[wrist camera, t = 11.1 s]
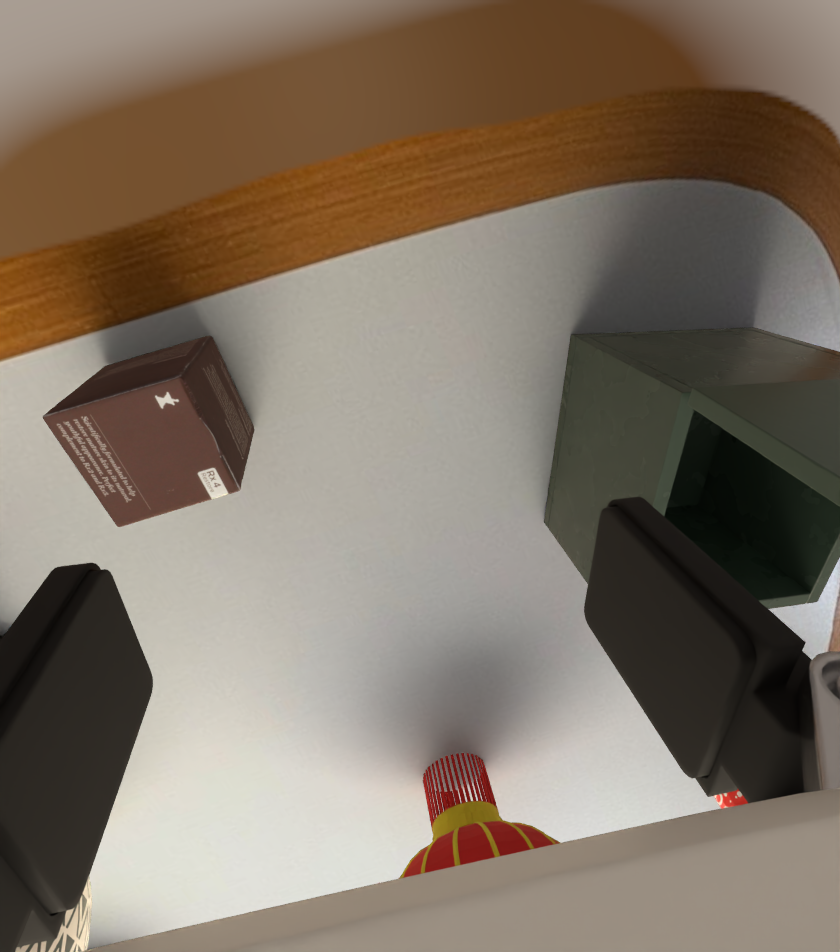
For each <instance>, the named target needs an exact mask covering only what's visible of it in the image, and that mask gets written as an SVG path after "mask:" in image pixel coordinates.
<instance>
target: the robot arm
mask: <svg viewBox="0 0 840 952" xmlns="http://www.w3.org/2000/svg"><path fill="white" fill-rule="evenodd" d="M584 613H585V618H586V621H587V623H588V625H589V627H590V629H591V630H592V632H593V633H594V635H595V636H596V638H597V639H598V641H599V642H600V644H601V646H602V647H603V649H604V650H605V652H606V653H607V655H608V656H609V658H610V659H611V661H612V663H613V664H614V666H615V667H616V669H617V670H618V672H619V673H620V675H621V676H622V678H623V680H624V681H625V683H626V684H627V686H628V687H629V689H630V690H631V692H632V693H633V695H634V697H635V698H636V700H637V701H638V703H639V704H640V706H641V707H642V709H643V710H644V712H645V713H646V715H647V717H648V718H649V720H650V721H651V723H652V724H653V726H654V727H655V729H656V730H657V732H658V734H659V735H660V737H661V738H662V740H663V741H664V743H665V744H666V746H667V747H668V749H669V751H670V752H671V754H672V755H673V757H674V758H675V760H676V761H677V763H678V764H679V766H680V768H681V769H682V770H683V772H684V773H685V774H686V775H687V776H688V777H691V778H696V780H697V781H698V783H699V784H700V786H701V787H702V789H703V790H704V792H705V793H706V795H707V796H708V797H710V796H714V795H719V794H724V793H728V792H733V791H737V789H738V790H739V791H740V792H741V794H742V795H743V796H744V798H745V799H746V801H747V802H748V804H743V805H738V806H733V807H728V808H722V809H717V810H712V811H707V812H702V813H697V814H693V815H688V816H684V817H679V818H674V819H670V820H665V821H660V822H656V823H651V824H647V825H642V826H637V827H633V828H628V829H623V830H619V831H614V832H610V833H605V834H600V835H596V836H591V837H586V838H582V839H577V840H573V841H568V842H563V843H559V844H554V845H549V846H545V847H540V848H536V849H531V850H527V851H522V852H518V853H513V854H509V855H504V856H500V857H495V858H490V859H486V860H481V861H477V862H472V863H468V864H463V865H459V866H454V867H450V868H445V869H441V870H436V871H432V872H427V873H423V874H418V875H414V876H409V877H405V878H400V879H396V880H391V881H387V882H382V883H378V884H373V885H369V886H364V887H360V888H355V889H351V890H346V891H342V892H338V893H333V894H329V895H324V896H320V897H315V898H311V899H306V900H302V901H298V902H293V903H289V904H285V905H280V906H276V907H271V908H267V909H263V910H258V911H254V912H249V913H245V914H241V915H236V916H232V917H227V918H223V919H219V920H214V921H210V922H205V923H201V924H197V925H192V926H188V927H183V928H179V929H175V930H170V931H166V932H162V933H157V934H153V935H148V936H144V937H140V938H135V939H131V940H126V941H122V942H118V943H114V944H110V945H106V946H102V947H98V948H93V949H89V950H85V951H81V952H840V652H826V653H822V654H818V655H817V656H816V657H815V658H814V659H813V660H811V659H810V658H809V657H808V656H807V655H806V654H805V653H804V652H803V651H802V649H803V647H804V645H805V642H804V641H803V640H802V639H801V638H800V637H799V636H798V635H796V634H795V633H794V632H793V631H792V630H791V629H790V628H789V627H787V626H786V625H785V624H784V623H783V622H782V621H781V620H780V619H778V618H777V617H776V616H775V615H774V614H773V613H772V612H771V611H770V610H768V609H767V608H766V607H765V606H764V605H763V604H762V603H761V602H759V601H758V600H757V599H756V598H755V597H754V596H753V595H752V594H750V593H749V592H748V591H747V590H746V589H745V588H744V587H743V586H741V585H740V584H739V583H738V582H737V581H736V580H735V579H734V578H732V577H731V576H730V575H729V574H728V573H727V572H726V571H725V570H723V569H722V568H721V567H720V566H719V565H718V564H717V563H716V562H715V561H713V560H712V559H711V558H710V557H709V556H708V555H707V554H706V553H704V552H703V551H702V550H701V549H700V548H699V547H698V546H697V545H695V544H694V543H693V542H692V541H691V540H690V539H689V538H688V537H686V536H685V535H684V534H683V533H682V532H681V531H680V530H679V529H677V528H676V527H675V526H674V525H673V524H672V523H671V522H670V521H669V520H667V519H666V518H665V517H664V516H663V515H662V514H661V513H660V512H658V511H657V510H656V509H655V508H654V507H653V506H652V505H651V504H649V503H648V502H647V501H646V500H645V499H643V498H642V497H631V498H623V499H614V500H612V501H610V502H609V504H608V506H607V508H604V509H602V511H601V513H600V518H599V524H598V529H597V535H596V541H595V547H594V553H593V559H592V565H591V571H590V577H589V582H588V588H587V594H586V600H585V606H584ZM152 687H153V679H152V674H151V671H150V669H149V666H148V664H147V661H146V659H145V656H144V654H143V651H142V649H141V646H140V644H139V641H138V639H137V636H136V634H135V631H134V629H133V626H132V624H131V621H130V619H129V616H128V614H127V611H126V609H125V606H124V604H123V601H122V599H121V596H120V594H119V591H118V589H117V586H116V584H115V581H114V579H113V576H112V575H111V573H110V572H109V571H108V570H106V569H104V570H101V569H100V567H99V566H98V565H97V564H95V563H86V564H78V565H69V566H61V567H57V568H55V569H53V570H52V571H51V572H50V574H49V575H48V577H47V578H46V579H45V581H44V582H43V583H42V585H41V586H40V587H39V589H38V590H37V591H36V593H35V594H34V596H33V597H32V598H31V600H30V601H29V602H28V604H27V605H26V606H25V608H24V609H23V610H22V612H21V613H20V615H19V616H18V617H17V619H16V620H15V621H14V623H13V624H12V625H11V627H10V628H9V629H8V631H7V632H6V634H5V635H4V636H3V638H2V639H1V640H0V952H15V951H16V948H17V947H21V946H26V945H31V944H35V943H40V942H44V941H49V940H54V939H57V936H58V933H59V931H60V928H61V925H62V922H63V920H64V917H65V914H66V911H67V910H71V909H73V908H74V907H75V906H76V905H77V904H78V902H79V900H80V899H81V896H82V894H83V891H84V889H85V886H86V883H87V880H88V877H89V874H90V871H91V868H92V865H93V862H94V859H95V857H96V854H97V851H98V848H99V845H100V842H101V839H102V836H103V833H104V830H105V828H106V825H107V822H108V819H109V816H110V813H111V810H112V807H113V804H114V801H115V798H116V796H117V793H118V790H119V787H120V784H121V781H122V778H123V775H124V772H125V769H126V767H127V764H128V761H129V758H130V755H131V752H132V749H133V746H134V743H135V740H136V737H137V735H138V732H139V729H140V726H141V723H142V720H143V717H144V714H145V711H146V708H147V706H148V703H149V700H150V697H151V693H152Z"/></svg>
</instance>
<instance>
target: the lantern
mask: <svg viewBox="0 0 840 952" xmlns="http://www.w3.org/2000/svg"><path fill="white" fill-rule="evenodd" d="M461 755H462V758H463V762H464V766H465V770H466V774H467V778H468V782H469V786H470V789H471V793H472V797H473V801H471V800H470V796H469V792H468V788H467V785H466V781H465V777H464V773H463V769H462V765H461V761H460V757H459V754H458V753H457V754H456V756H457V760H458V764H459V768H460V772H461V776H462V780H463V784H464V788H465V792H466V797H467V801H468V802H466V801H465V797H464V793H463V789H462V788H461V784H460V780H459V776H458V772H457V768H456V764H455V760H454V756H453V754H452V755H451V759H452V763H453V768H454V772H455V776H456V780H457V784H458V789H459V793H460V797H461V801H462V803H460V799H459V795H458V791H457V790H456V789H455V785H454V780H453V776H452V772H451V768H450V763H449V759H448V756H445V758H446V763H447V767H448V772H449V776H450V781H451V785H452V789H453V793H452V791H450V788H449V784H448V780H447V775H446V771H445V766H444V762H443V758H441V759H440V760H441V765H442V770H443V774H444V779H445V783H446V788H447V792H444V787H443V782H442V778H441V773H440V769H439V764H438V760H437V761H435V762H436V767H437V772H438V777H439V782H440V786H441V791H442V792H439V788H438V783H437V778H436V773H435V768H434V763H433V764H432V769H433V774H434V779H435V784H436V789H437V791H436V794H435V789H434V784H433V779H432V774H431V769H430V766H429V767H428V771H429V776H430V781H431V787H432V792H431V787H430V782H429V776H428V771H427V770H426V775H427V780H426V775H425V773H424V777H423V779H424V780H423V783H424V788H425V794H426V799H427V805H428V810H429V816H430V821H431V826H432V831H433V842H432V843H431V844H430V845H428V846H427V847H425V848H424V849H422V850H420V851H419V852H418V853H417V854H416V855H415V856H414V857H413V858H412V859H411V860H410V862H409V864H408V865H407V867H406V868H405V870H404V872H403V874H402V875H401V876H400V878H405V877H409V876H414V875H418V874H423V873H427V872H432V871H436V870H441V869H445V868H450V867H454V866H459V865H463V864H468V863H472V862H477V861H481V860H486V859H490V858H495V857H500V856H504V855H509V854H513V853H518V852H522V851H527V850H531V849H536V848H540V847H545V846H549V845H554V844H559V843H560V842H558V841H557V840H555V839H553V838H551V837H549V836H548V835H546V834H545V833H544V832H542V831H540V830H538V829H536V828H535V827H533V826H530V825H526V824H522V823H510V822H507V821H503V820H502V819H501V817H500V816H499V812H498V809H497V806H496V802H495V799H494V795H493V792H492V789H491V785H490V782H489V778H488V775H487V772H486V768H485V765H484V762H483V760H482V759H481V760H480V758H479V757H478V758H477V755H475V757H476V760H477V764H478V767H479V771H480V774H481V775H480V777H479V773H478V770H477V766H476V763H475V759H474V756H473V754H471V757H472V760H473V764H474V768H475V771H476V775H477V778H478V779H477V781H478V785H479V788H480V792H481V796H482V799H483V801H481V797H480V793H479V790H478V786H477V782H476V779H475V775H474V771H473V768H472V764H471V760H470V757H469V753H467V757H468V761H469V765H470V768H471V772H472V776H473V780H474V786H475V790H476V794H477V797H478V801H476V797H475V794H474V790H473V786H472V782H471V779H470V775H469V771H468V767H467V764H466V760H465V756H464V753H461ZM478 759H479V761H478ZM481 761H482V763H481ZM479 762H480V765H481V768H480V765H479ZM482 765H483V767H482ZM481 769H482V771H481ZM480 779H481V781H480ZM427 781H428V785H427ZM481 782H482V784H481ZM428 786H429V791H428ZM482 786H483V788H482ZM483 789H484V791H483ZM484 793H485V795H484ZM429 794H430V796H429ZM432 794H433V797H432ZM440 794H441V797H440ZM453 794H454V797H453ZM436 795H437V799H436ZM445 795H446V796H445ZM485 797H486V798H485ZM441 798H442V802H441ZM454 798H455V801H454ZM430 799H431V802H430ZM433 799H434V802H433ZM437 800H438V804H437ZM446 800H447V801H446ZM486 800H487V802H486ZM442 803H443V807H442ZM455 803H456V805H455ZM431 804H432V807H431ZM434 804H435V807H434ZM438 805H439V809H438ZM443 808H444V812H443ZM435 809H436V813H435ZM432 810H433V812H432ZM439 810H440V814H439ZM433 815H434V818H433ZM436 815H437V818H436ZM434 820H435V821H434ZM400 878H399V879H400Z"/></svg>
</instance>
